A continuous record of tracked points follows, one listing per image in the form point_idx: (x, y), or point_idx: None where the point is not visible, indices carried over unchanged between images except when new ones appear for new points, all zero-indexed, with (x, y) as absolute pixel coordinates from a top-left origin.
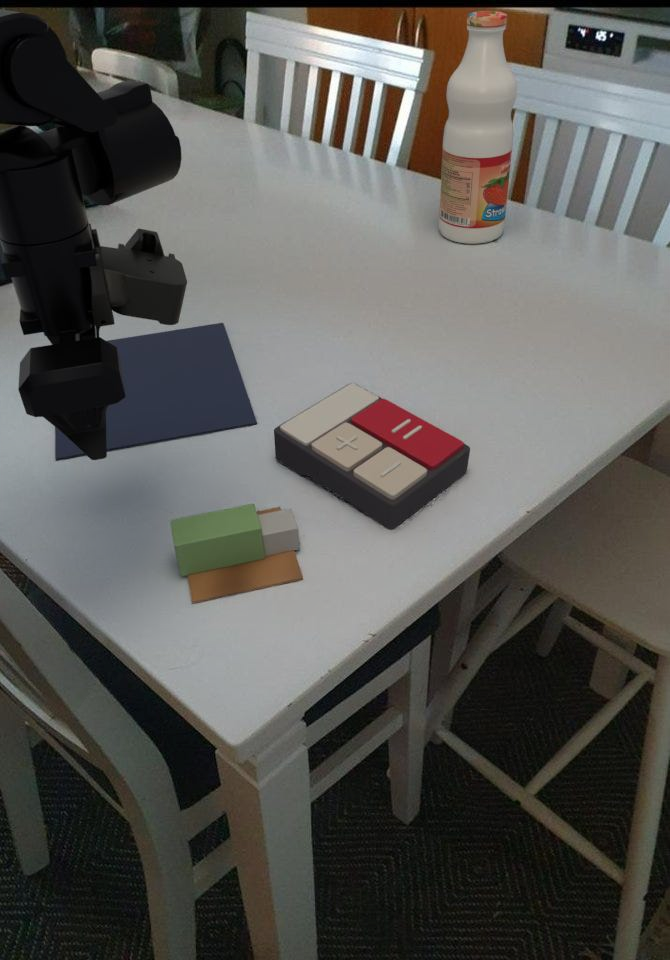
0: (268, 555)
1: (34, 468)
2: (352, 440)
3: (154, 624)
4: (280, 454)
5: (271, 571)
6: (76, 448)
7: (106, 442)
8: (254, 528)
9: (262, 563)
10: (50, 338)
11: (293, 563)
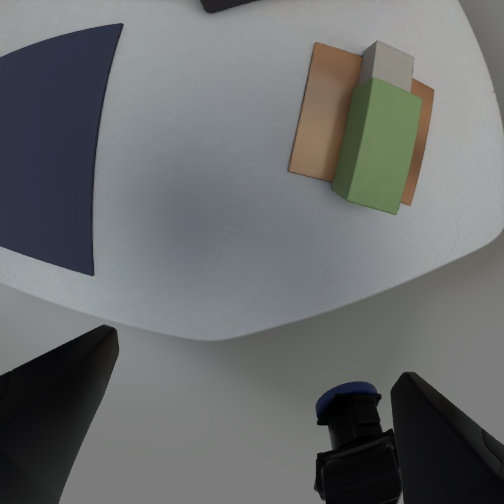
0: None
1: (101, 296)
2: None
3: (408, 248)
4: (221, 2)
5: None
6: (81, 251)
7: (445, 398)
8: (420, 106)
9: None
10: (57, 501)
11: (414, 84)
